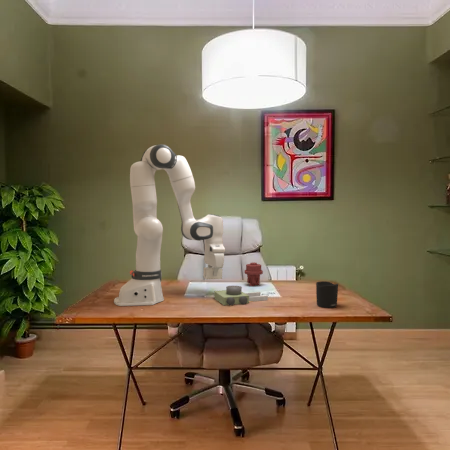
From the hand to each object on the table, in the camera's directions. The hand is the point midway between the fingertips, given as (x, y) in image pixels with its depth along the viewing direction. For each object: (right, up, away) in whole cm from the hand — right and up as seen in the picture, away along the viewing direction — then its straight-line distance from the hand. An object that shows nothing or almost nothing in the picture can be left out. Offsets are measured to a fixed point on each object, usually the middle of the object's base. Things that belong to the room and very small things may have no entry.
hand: (212, 274), depth 202 cm
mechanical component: (+22, -9, +22) cm, 32 cm away
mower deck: (+14, -10, -12) cm, 21 cm away
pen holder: (+51, -11, -21) cm, 57 cm away
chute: (0, -2, 0) cm, 2 cm away
